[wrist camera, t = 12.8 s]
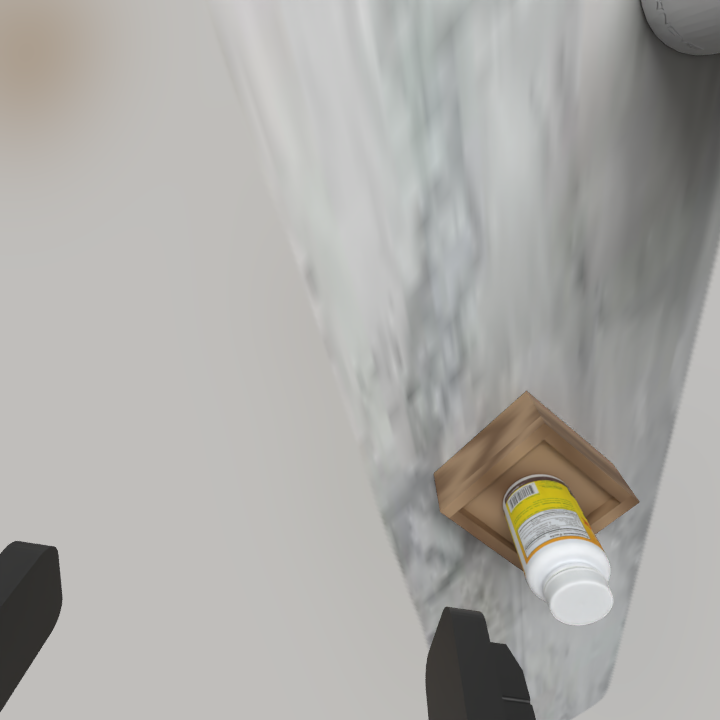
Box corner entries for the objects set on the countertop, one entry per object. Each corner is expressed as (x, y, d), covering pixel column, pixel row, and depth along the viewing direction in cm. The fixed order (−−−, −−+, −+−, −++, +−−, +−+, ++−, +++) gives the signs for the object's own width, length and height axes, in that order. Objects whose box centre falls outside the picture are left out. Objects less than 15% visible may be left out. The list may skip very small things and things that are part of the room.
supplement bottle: (560, 527, 43) (611, 639, 34) (494, 521, 43) (527, 631, 33) (578, 473, 41) (639, 577, 31) (509, 466, 40) (549, 568, 31)
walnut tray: (526, 390, 42) (544, 422, 38) (612, 463, 45) (639, 502, 40) (433, 473, 46) (440, 511, 41) (518, 536, 49) (533, 578, 44)
